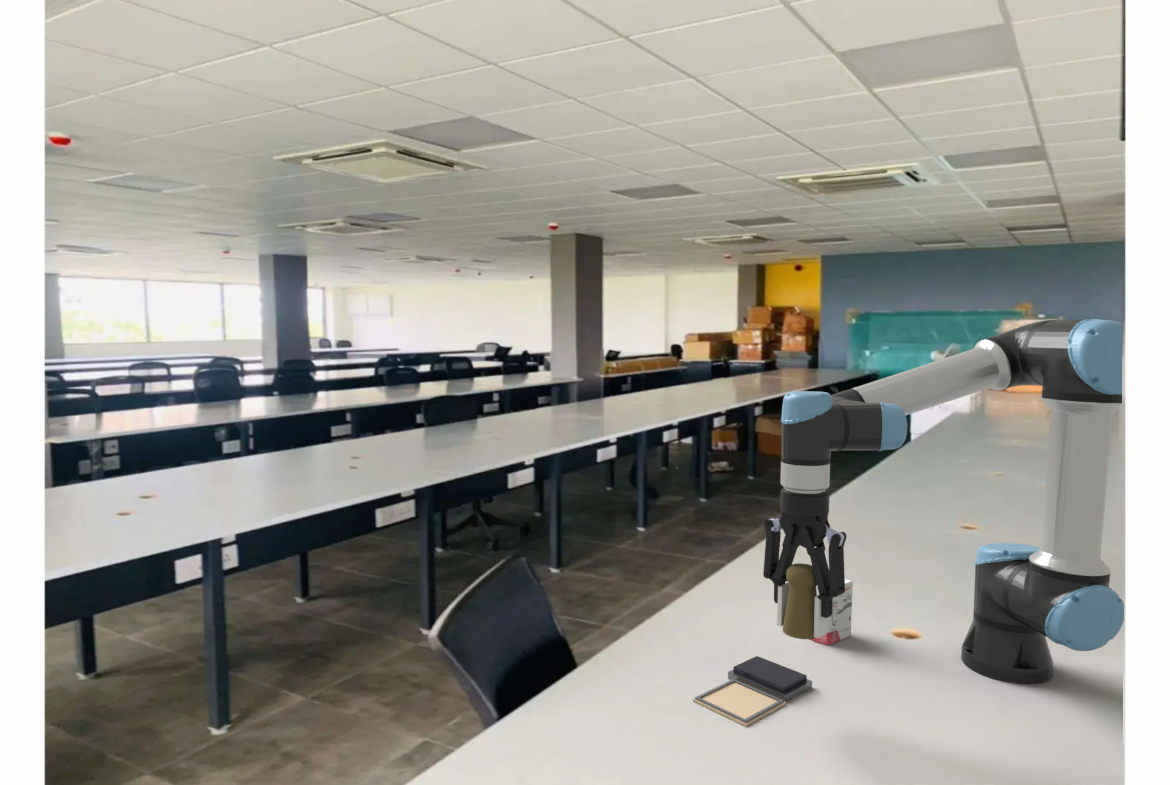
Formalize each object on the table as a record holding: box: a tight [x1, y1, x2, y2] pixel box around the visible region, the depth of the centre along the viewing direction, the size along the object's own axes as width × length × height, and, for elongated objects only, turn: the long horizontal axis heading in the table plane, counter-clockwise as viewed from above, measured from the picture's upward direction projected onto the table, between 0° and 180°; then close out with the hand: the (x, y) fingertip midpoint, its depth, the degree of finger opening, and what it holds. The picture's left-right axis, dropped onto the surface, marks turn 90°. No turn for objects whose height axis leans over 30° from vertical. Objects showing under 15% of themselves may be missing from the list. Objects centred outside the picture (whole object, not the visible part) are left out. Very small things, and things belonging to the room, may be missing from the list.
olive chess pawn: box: [782, 562, 817, 640], centre depth 123 cm, size 6×6×11 cm
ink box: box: [810, 578, 854, 646], centre depth 156 cm, size 9×5×12 cm, turn 129°
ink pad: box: [727, 655, 813, 703], centre depth 136 cm, size 12×8×2 cm
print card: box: [692, 679, 787, 727], centre depth 129 cm, size 11×11×1 cm
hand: (801, 629), depth 124 cm, fingers closed on olive chess pawn, 6 cm apart
